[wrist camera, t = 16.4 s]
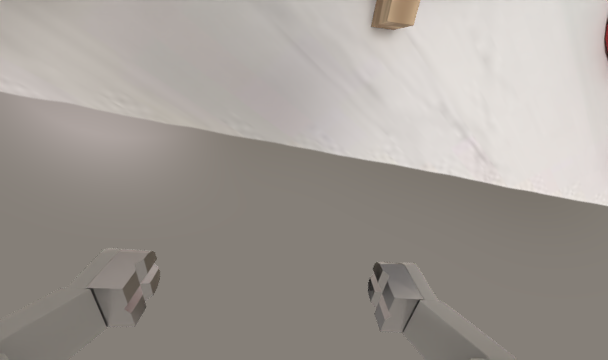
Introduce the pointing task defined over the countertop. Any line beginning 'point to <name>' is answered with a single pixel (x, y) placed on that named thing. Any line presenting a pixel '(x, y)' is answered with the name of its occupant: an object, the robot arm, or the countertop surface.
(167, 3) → the countertop surface
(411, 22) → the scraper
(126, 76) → the countertop surface
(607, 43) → the stand mixer
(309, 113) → the countertop surface
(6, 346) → the robot arm
